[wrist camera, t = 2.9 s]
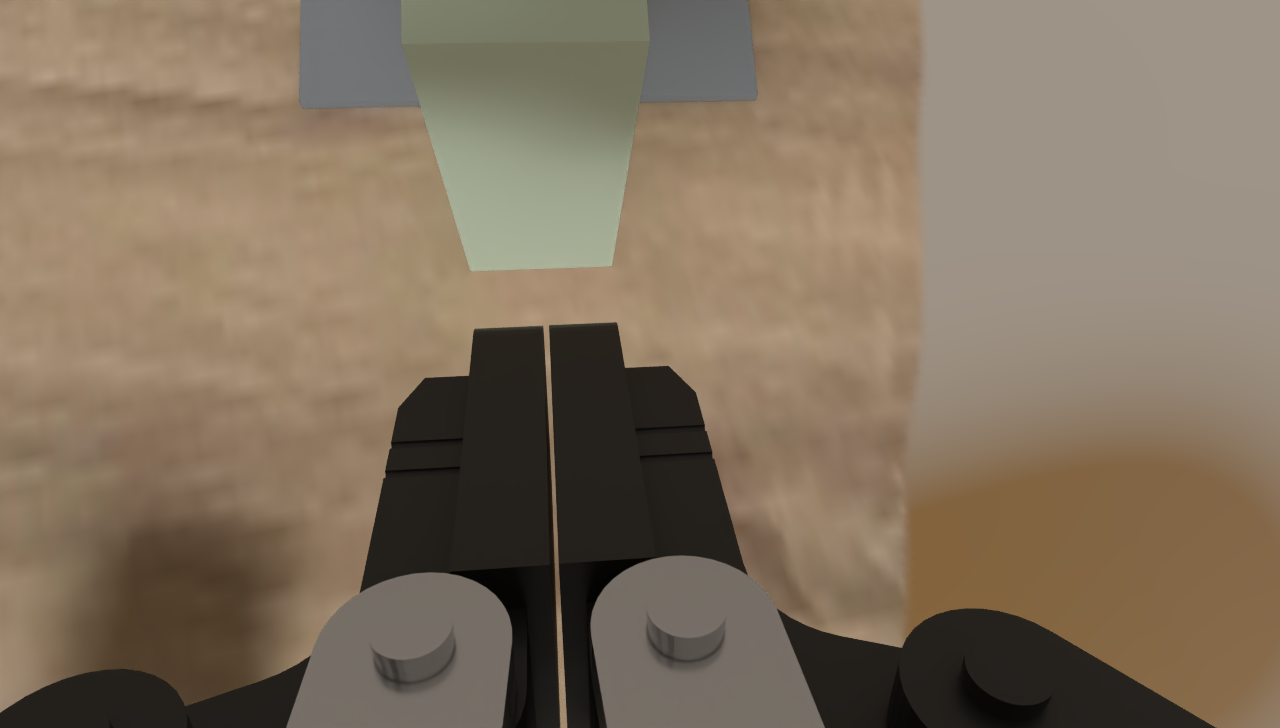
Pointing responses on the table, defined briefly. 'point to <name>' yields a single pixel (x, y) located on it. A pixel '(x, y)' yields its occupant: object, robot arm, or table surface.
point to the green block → (530, 121)
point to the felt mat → (380, 77)
